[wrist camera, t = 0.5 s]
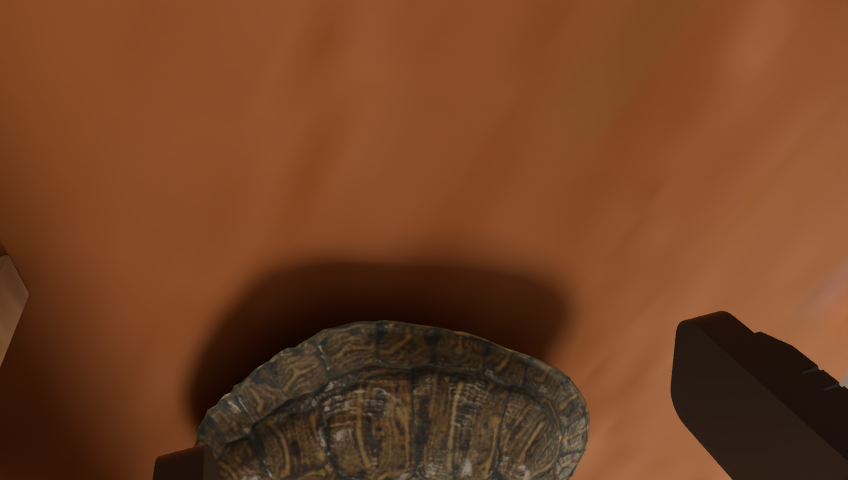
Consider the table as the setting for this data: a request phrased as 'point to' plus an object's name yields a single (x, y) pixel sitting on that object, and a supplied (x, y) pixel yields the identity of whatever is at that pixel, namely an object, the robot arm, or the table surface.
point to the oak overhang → (10, 302)
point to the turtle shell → (399, 411)
